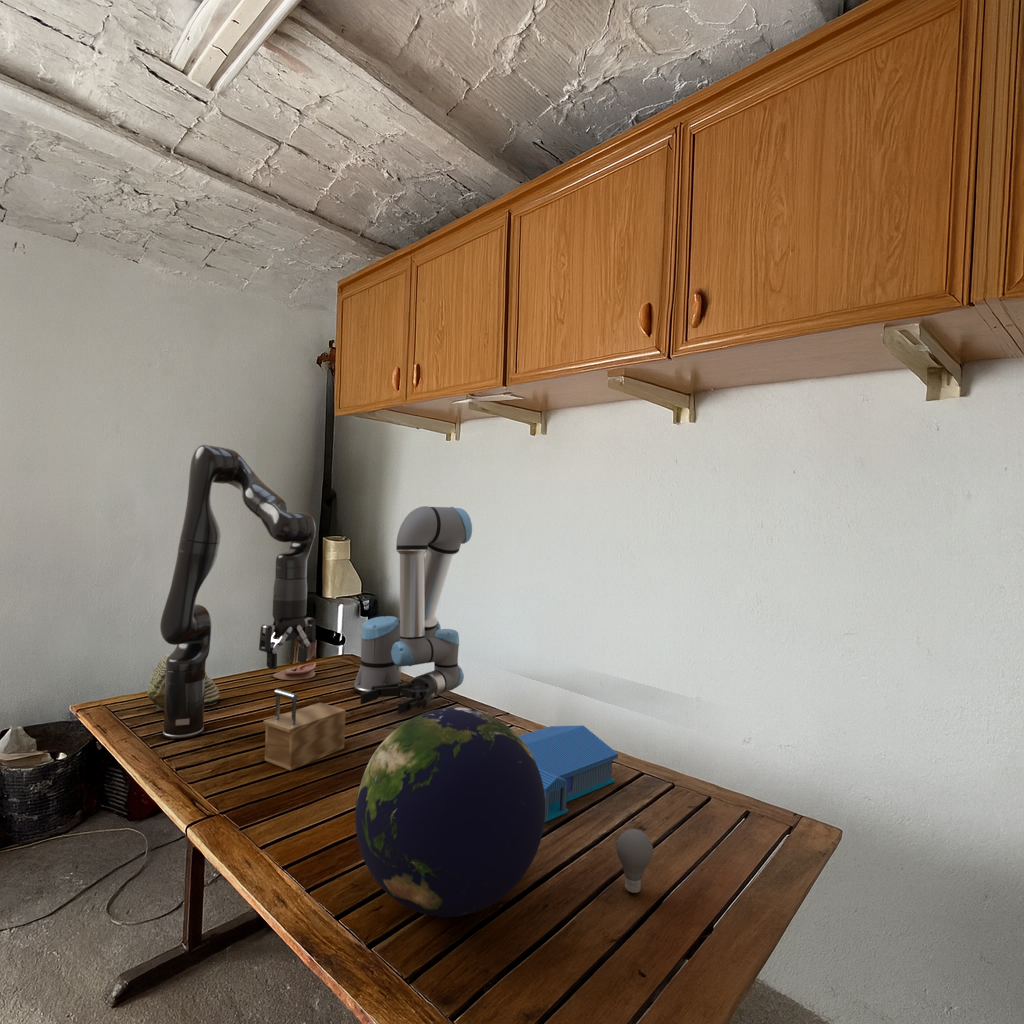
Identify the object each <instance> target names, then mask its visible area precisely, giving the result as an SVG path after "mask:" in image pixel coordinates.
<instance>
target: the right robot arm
mask: <svg viewBox="0 0 1024 1024" xmlns="http://www.w3.org/2000/svg"><path fill="white" fill-rule="evenodd" d="M472 535H473V523H472V521H471V517H470V515H469V513H468V511H466V510H465V509H463V508H461V507H454V506H450V507H448V506H428V505H426V506H425V505H424V506H423V505H422V506H419V507H416V508H415V509H412V510H411V511H410V512H409V513H408V514H407V515H406V516H405V517H404V519H403V520H402V523H401V524H400V526H399V529H398V531H397V537H396V544H395V545H396V546H395V547H396V548H395V549H396V552H397V553H398V554H399V618H398V617H396V616H393V615H386V616H384V615H383V616H375V617H372V618H369V619H367V620H366V621H365V622H364V623H363V624H362V626H361V627H362V628H361V634H360V638H361V641H360V643H361V644H360V666H359V669H358V672H357V674H356V678H355V680H354V683H353V691H354V692H355V693H357V694H359V695H360V705H364V704H367V703H371V702H373V701H377V700H378V699H379V698H387V697H397V698H406V699H407V698H408V699H407V700H404V701H402V702H399V703H398V704H397V714H398V715H401V714H405V713H407V712H410V711H411V710H414V709H420V708H421V707H422V709H425V710H426V709H427V708H428V707H429V705H430V703H431V702H432V701H433V700H435V697H436V696H439V695H443V694H445V693H447V692H449V691H450V692H451V691H453V690H455V689H457V688H459V686H461V685H462V684H463V682H464V678H465V674H464V672H463V669H462V668H461V667H460V665H459V659H458V658H459V648H460V636H459V632H458V630H455V629H452V628H441V624H440V622H439V619H438V616H437V615H436V613H437V610H438V606H439V603H440V599H441V596H442V593H443V589H444V586H445V583H446V580H447V576H448V572H449V570H450V566H451V562H452V558H453V556H455V555H456V554H458V553H459V552H460V548H461V546H462V545H464V544H466V543H468V542H469V541H470V540H471V538H472ZM430 663H433V664H434V665H433V668H434V670H431V671H428V672H425V673H423V674H421V675H417V676H415V677H413V678H412V680H411V681H410V683H406V684H403V681H401V677H400V674H399V673H400V672H399V670H398V667H400V668H401V667H413V666H417V665H423V664H430ZM401 692H402V693H401Z"/></svg>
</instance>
